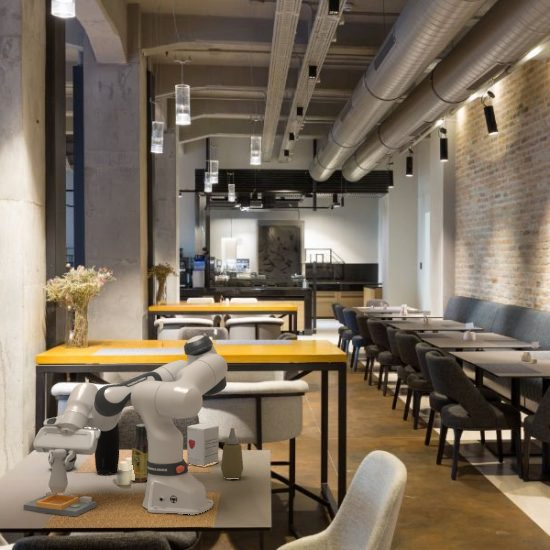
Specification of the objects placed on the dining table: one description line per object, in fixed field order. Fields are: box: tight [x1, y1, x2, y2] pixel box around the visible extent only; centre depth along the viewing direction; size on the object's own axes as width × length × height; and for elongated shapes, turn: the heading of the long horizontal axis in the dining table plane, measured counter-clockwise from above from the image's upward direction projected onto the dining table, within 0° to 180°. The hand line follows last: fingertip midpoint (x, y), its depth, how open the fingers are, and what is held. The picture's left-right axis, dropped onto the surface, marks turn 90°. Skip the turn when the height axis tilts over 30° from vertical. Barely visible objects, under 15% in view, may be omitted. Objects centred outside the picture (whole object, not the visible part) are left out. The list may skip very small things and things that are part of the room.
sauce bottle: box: [131, 423, 148, 483], centre depth 270 cm, size 7×6×20 cm
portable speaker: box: [94, 422, 120, 476], centre depth 281 cm, size 9×9×20 cm
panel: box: [23, 491, 97, 518], centre depth 237 cm, size 19×11×3 cm, turn 70°
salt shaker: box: [48, 449, 69, 494], centre depth 238 cm, size 6×6×13 cm
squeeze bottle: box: [220, 427, 244, 478], centre depth 274 cm, size 8×8×18 cm
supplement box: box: [186, 422, 220, 466], centre depth 295 cm, size 9×9×15 cm
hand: (57, 464), depth 237 cm, fingers closed on salt shaker, 3 cm apart
